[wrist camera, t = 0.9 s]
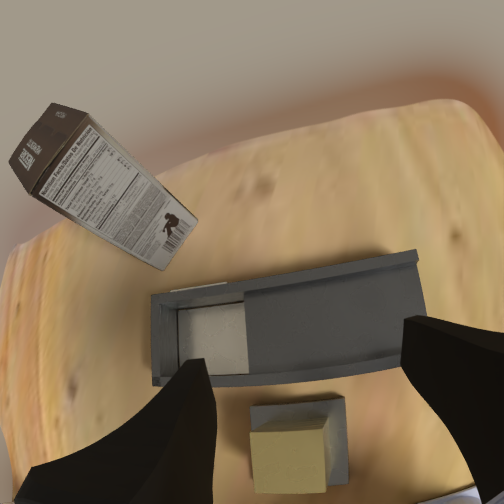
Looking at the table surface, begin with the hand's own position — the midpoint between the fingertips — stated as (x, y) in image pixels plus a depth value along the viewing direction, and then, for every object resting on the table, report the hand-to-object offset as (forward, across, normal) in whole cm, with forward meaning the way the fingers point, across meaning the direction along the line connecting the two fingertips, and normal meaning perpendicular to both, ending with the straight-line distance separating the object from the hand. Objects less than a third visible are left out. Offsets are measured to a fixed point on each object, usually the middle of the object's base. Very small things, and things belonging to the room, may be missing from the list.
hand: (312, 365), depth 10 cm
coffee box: (+23, +10, -3) cm, 25 cm away
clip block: (+5, 0, +11) cm, 12 cm away
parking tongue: (+7, 0, +12) cm, 14 cm away
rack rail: (+12, -1, +5) cm, 13 cm away
